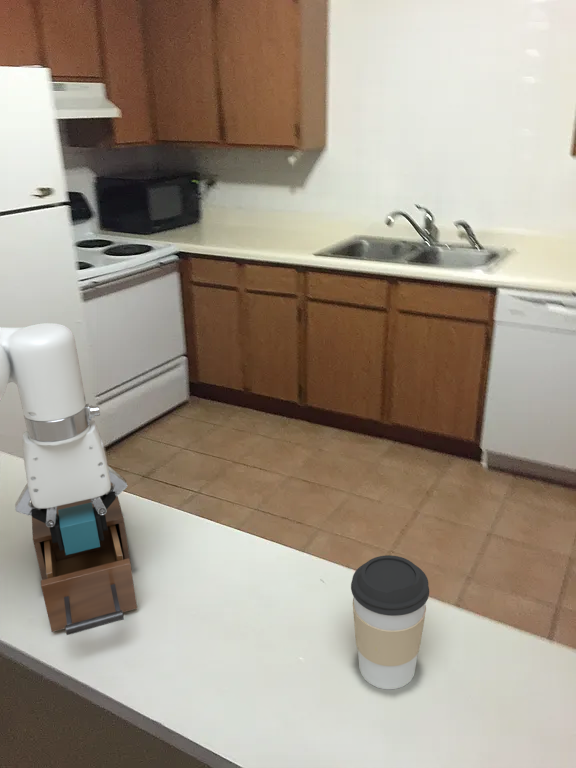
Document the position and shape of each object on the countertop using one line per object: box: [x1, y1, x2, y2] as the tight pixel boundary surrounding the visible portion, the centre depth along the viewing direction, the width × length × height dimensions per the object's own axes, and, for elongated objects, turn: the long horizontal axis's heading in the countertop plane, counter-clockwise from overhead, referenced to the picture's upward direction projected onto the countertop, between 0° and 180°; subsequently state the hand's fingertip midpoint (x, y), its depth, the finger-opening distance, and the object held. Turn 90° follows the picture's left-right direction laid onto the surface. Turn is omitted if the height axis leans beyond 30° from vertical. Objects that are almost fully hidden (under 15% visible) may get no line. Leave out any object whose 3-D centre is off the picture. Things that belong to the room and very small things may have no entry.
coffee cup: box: [350, 554, 430, 690], centre depth 80 cm, size 9×9×15 cm
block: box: [58, 502, 100, 555], centre depth 91 cm, size 4×4×4 cm
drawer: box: [40, 525, 138, 636], centre depth 93 cm, size 21×11×8 cm, turn 21°
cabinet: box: [30, 482, 133, 580], centre depth 104 cm, size 16×13×10 cm
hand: (81, 538), depth 92 cm, fingers closed on block, 4 cm apart
